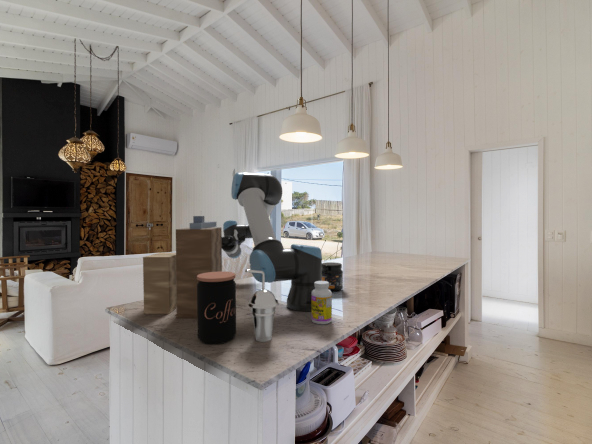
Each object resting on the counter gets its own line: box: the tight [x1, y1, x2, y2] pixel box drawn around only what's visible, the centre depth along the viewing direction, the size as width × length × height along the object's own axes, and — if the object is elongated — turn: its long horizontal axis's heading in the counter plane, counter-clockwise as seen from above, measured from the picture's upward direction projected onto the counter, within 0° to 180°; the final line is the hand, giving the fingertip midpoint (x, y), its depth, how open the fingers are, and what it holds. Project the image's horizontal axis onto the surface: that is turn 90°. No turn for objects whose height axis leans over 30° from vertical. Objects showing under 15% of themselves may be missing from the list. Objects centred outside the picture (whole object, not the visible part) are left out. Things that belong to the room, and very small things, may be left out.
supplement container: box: [322, 261, 344, 293], centre depth 149 cm, size 10×10×12 cm
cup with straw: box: [244, 269, 279, 343], centre depth 91 cm, size 8×9×20 cm
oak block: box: [142, 252, 177, 315], centre depth 120 cm, size 14×9×20 cm, turn 179°
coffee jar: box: [196, 271, 237, 345], centre depth 91 cm, size 11×11×18 cm
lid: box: [189, 215, 217, 229], centre depth 120 cm, size 20×4×4 cm, turn 179°
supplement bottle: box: [310, 281, 333, 325], centre depth 105 cm, size 7×7×13 cm
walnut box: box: [175, 226, 223, 319], centre depth 116 cm, size 14×12×30 cm
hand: (219, 232), depth 140 cm, fingers open, 13 cm apart
